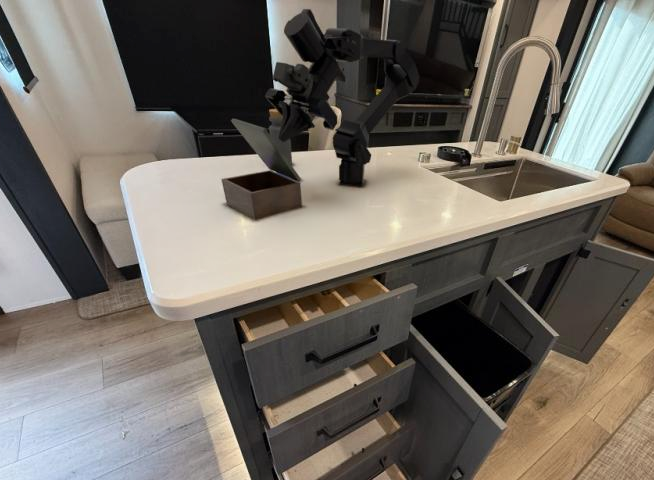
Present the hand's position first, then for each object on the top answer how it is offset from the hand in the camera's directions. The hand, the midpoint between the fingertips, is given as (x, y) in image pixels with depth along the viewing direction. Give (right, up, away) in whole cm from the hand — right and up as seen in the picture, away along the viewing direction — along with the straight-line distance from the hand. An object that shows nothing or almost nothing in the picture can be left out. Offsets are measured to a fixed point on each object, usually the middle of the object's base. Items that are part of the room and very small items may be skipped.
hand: (280, 140), depth 71 cm
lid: (-3, -3, -1) cm, 4 cm away
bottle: (-9, +8, +31) cm, 34 cm away
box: (-5, -13, +4) cm, 15 cm away
